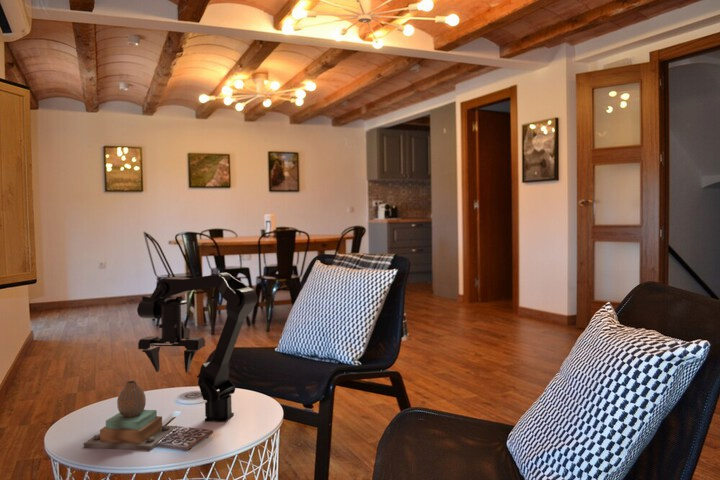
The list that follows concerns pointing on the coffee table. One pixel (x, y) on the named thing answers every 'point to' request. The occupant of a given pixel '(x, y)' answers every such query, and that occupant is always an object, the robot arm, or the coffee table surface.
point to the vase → (131, 400)
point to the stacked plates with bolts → (131, 432)
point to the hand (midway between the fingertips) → (172, 371)
